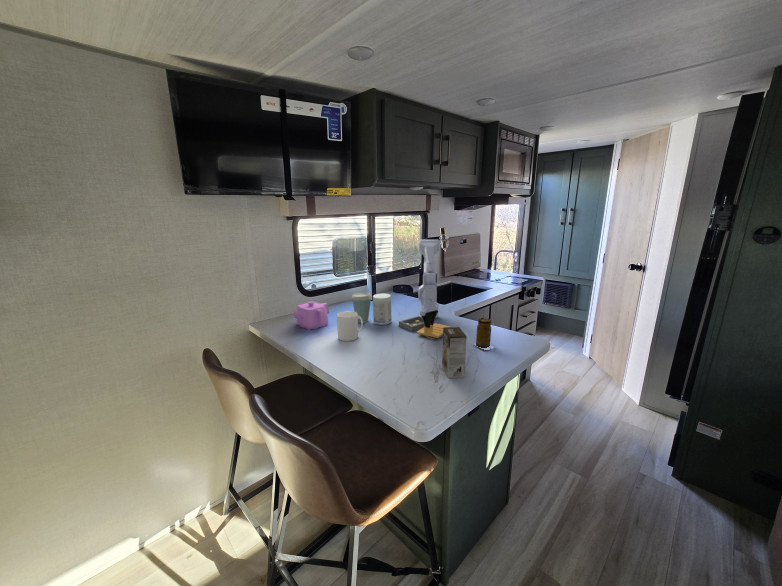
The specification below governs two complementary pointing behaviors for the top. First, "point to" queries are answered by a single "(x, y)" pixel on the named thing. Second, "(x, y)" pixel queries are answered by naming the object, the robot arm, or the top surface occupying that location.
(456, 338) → the coffee box
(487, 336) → the condiment
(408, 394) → the top surface
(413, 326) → the parts tub
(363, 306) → the disposable coffee cup
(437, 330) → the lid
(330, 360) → the top surface
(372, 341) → the top surface
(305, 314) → the teakettle
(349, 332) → the mug
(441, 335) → the mat
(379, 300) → the supplement tub
